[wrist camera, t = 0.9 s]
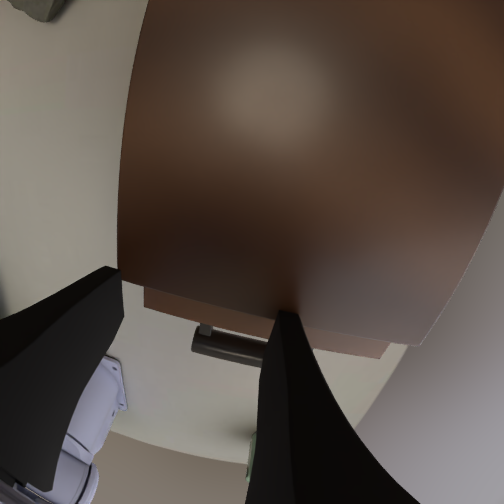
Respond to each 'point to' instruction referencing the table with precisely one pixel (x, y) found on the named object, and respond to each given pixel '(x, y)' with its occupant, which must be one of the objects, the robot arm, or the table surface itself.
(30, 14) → the stone
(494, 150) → the cabinet
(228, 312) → the drawer
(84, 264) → the table surface
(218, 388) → the table surface
